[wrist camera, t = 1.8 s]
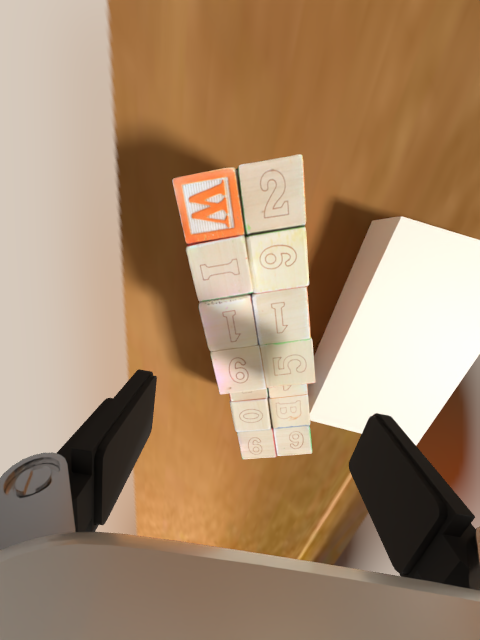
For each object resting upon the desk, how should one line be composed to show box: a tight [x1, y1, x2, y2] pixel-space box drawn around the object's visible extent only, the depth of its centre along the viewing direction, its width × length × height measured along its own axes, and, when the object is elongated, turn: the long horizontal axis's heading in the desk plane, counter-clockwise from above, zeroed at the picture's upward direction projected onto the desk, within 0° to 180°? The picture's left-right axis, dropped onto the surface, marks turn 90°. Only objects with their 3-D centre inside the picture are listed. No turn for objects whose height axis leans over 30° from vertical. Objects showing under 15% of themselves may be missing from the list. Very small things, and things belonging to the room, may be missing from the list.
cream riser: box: [307, 216, 480, 445], centre depth 24 cm, size 12×20×5 cm, turn 165°
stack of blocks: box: [172, 154, 316, 459], centre depth 20 cm, size 21×6×12 cm, turn 8°
